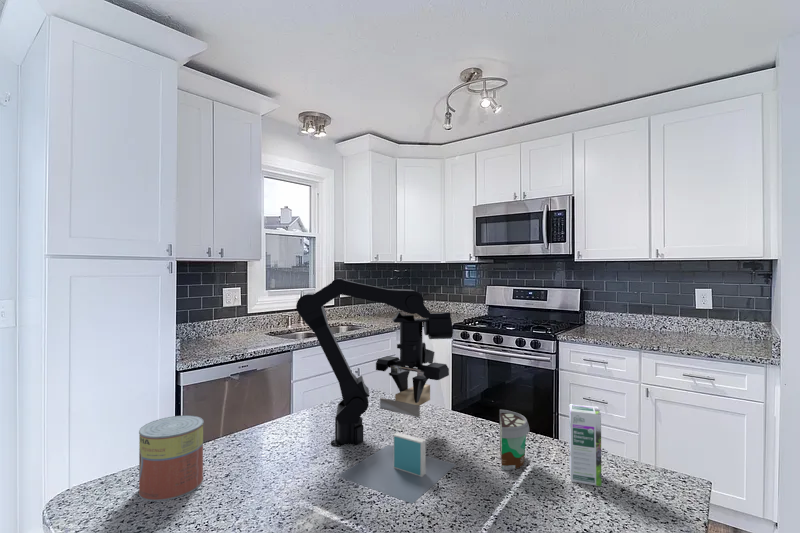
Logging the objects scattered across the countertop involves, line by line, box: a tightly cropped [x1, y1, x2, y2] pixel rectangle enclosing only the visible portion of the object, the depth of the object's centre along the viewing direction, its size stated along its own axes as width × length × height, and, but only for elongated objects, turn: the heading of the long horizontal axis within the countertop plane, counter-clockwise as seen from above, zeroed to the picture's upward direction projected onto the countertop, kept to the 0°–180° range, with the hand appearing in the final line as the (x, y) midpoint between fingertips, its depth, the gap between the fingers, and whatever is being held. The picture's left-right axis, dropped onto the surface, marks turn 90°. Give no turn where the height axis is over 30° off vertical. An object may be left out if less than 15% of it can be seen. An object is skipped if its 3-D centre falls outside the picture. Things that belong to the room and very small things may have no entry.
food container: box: [499, 409, 530, 471], centre depth 91 cm, size 12×6×10 cm, turn 168°
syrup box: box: [568, 403, 603, 488], centre depth 85 cm, size 6×6×14 cm
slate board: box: [337, 444, 457, 505], centre depth 87 cm, size 18×18×1 cm
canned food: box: [138, 414, 204, 502], centre depth 82 cm, size 11×11×12 cm
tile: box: [393, 432, 426, 477], centre depth 87 cm, size 7×2×7 cm, turn 56°
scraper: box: [379, 383, 431, 418], centre depth 105 cm, size 13×11×4 cm
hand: (411, 401), depth 104 cm, fingers closed on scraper, 3 cm apart
